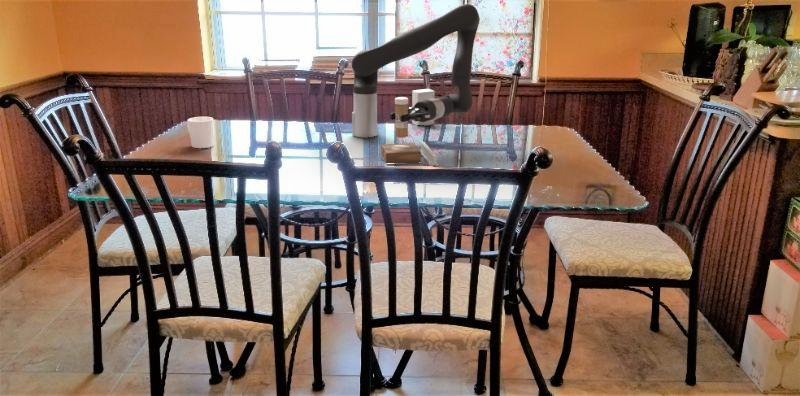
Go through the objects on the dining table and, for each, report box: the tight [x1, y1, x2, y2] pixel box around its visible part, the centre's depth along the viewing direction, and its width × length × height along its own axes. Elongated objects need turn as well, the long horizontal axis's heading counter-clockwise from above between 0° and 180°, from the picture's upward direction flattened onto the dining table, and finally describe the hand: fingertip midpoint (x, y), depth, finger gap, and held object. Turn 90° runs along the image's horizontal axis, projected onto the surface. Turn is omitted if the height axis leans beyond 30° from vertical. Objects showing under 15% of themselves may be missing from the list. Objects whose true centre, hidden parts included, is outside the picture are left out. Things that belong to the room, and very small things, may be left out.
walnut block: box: [380, 142, 422, 165], centre depth 221 cm, size 12×12×4 cm
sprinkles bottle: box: [394, 96, 409, 139], centre depth 217 cm, size 5×5×13 cm
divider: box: [419, 141, 440, 167], centre depth 223 cm, size 20×3×4 cm, turn 10°
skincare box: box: [411, 88, 436, 126], centre depth 272 cm, size 8×6×15 cm
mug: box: [186, 116, 215, 149], centre depth 235 cm, size 11×9×10 cm
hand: (396, 117), depth 215 cm, fingers closed on sprinkles bottle, 4 cm apart
